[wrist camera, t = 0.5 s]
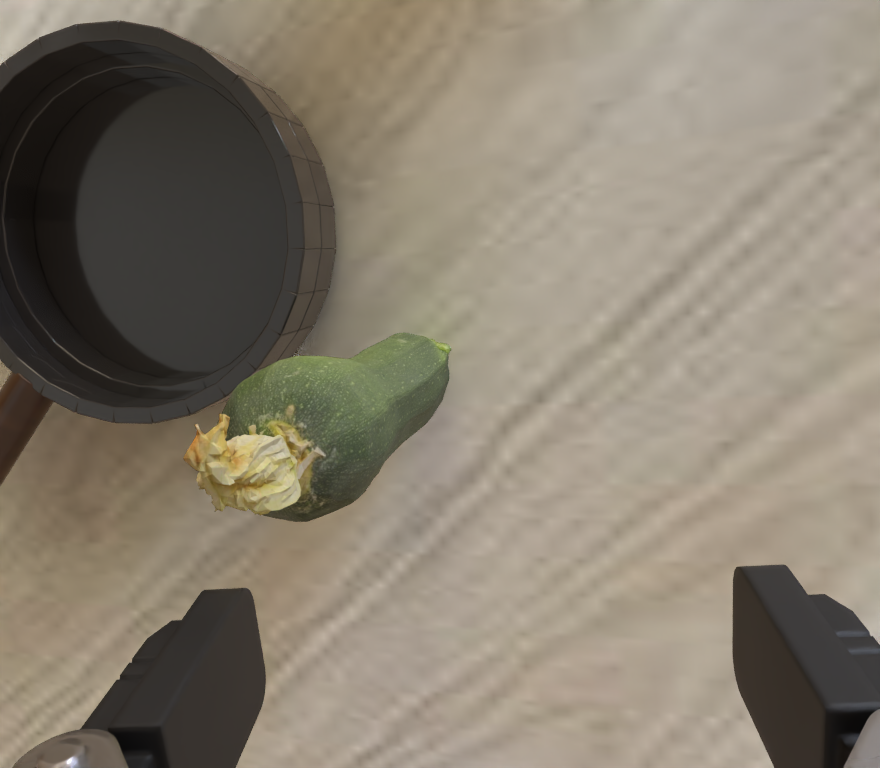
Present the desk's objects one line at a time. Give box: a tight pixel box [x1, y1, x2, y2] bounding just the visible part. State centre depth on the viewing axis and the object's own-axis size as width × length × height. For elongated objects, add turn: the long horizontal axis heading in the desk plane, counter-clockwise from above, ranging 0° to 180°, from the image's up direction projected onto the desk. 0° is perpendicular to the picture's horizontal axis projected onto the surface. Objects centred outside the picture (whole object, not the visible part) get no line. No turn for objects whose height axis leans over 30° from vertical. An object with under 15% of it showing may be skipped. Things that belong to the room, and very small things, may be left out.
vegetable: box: [183, 333, 451, 522], centre depth 25 cm, size 4×4×20 cm
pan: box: [0, 21, 336, 424], centre depth 33 cm, size 15×15×4 cm
